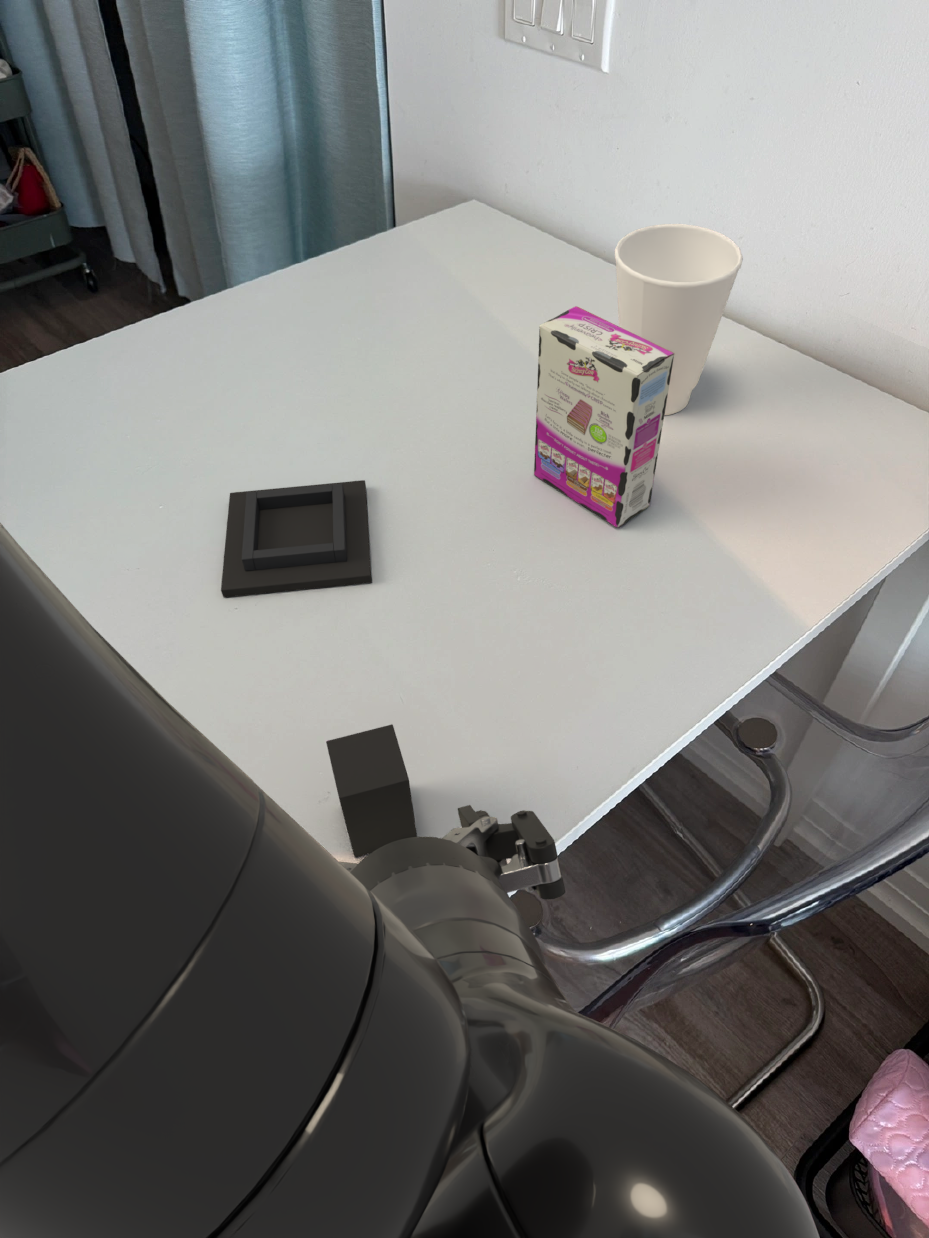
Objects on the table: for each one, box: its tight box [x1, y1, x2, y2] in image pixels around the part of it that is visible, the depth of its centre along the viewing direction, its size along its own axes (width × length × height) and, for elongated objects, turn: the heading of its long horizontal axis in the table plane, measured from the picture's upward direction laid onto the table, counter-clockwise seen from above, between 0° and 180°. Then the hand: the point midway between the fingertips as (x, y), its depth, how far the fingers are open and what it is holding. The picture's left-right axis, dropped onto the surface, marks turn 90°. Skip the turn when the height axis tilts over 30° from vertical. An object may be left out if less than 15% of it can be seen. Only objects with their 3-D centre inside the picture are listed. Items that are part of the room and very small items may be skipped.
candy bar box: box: [533, 305, 675, 528], centre depth 81 cm, size 11×5×16 cm, turn 43°
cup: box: [614, 223, 744, 416], centre depth 91 cm, size 12×12×16 cm
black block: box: [325, 723, 418, 858], centre depth 61 cm, size 4×4×8 cm
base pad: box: [220, 479, 373, 598], centre depth 83 cm, size 13×13×2 cm
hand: (391, 844), depth 50 cm, fingers open, 8 cm apart
